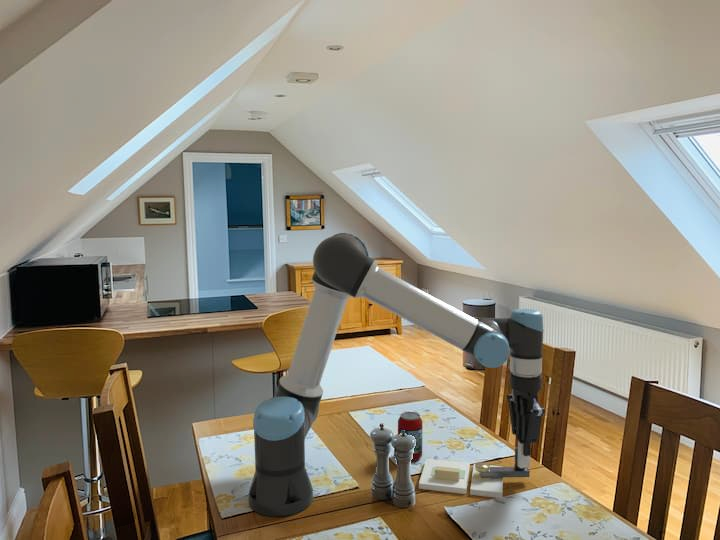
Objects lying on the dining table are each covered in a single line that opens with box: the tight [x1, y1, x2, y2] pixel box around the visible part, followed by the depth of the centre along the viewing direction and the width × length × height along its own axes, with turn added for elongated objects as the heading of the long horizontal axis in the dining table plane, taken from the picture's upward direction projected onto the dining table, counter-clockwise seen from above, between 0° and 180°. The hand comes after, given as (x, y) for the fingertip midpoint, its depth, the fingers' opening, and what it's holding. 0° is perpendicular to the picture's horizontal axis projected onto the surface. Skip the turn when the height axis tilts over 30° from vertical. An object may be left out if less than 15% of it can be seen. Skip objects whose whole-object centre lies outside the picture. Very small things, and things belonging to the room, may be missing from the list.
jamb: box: [470, 463, 504, 499], centre depth 145 cm, size 14×8×2 cm, turn 166°
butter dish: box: [418, 458, 471, 495], centre depth 147 cm, size 14×12×4 cm
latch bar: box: [474, 447, 531, 478], centre depth 144 cm, size 13×4×7 cm, turn 90°
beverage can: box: [397, 411, 423, 462], centre depth 159 cm, size 7×7×12 cm
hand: (523, 466), depth 142 cm, fingers closed
